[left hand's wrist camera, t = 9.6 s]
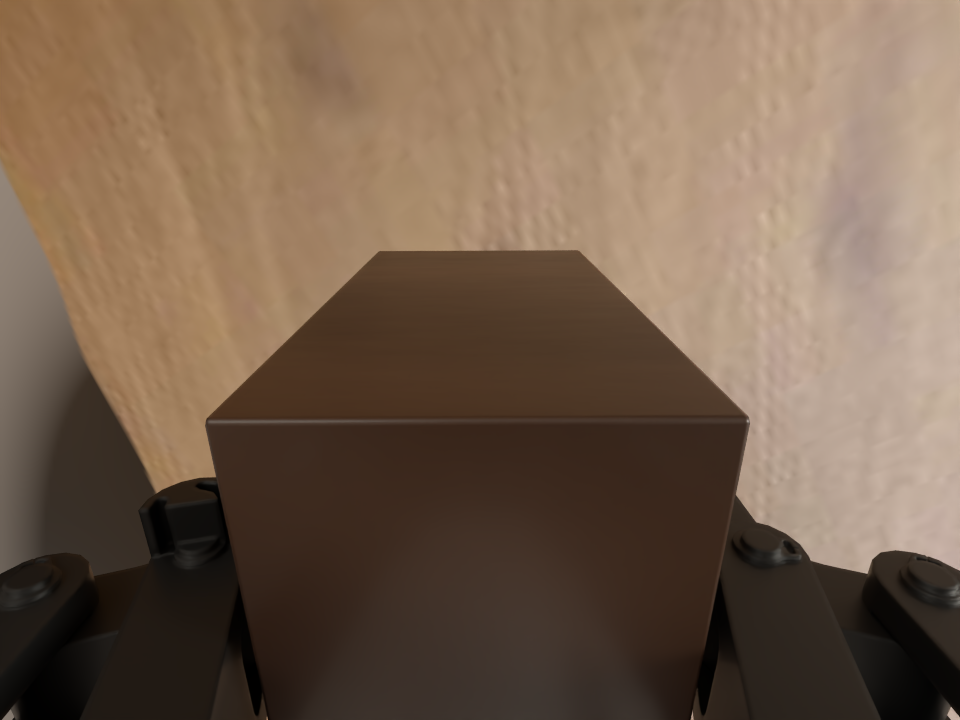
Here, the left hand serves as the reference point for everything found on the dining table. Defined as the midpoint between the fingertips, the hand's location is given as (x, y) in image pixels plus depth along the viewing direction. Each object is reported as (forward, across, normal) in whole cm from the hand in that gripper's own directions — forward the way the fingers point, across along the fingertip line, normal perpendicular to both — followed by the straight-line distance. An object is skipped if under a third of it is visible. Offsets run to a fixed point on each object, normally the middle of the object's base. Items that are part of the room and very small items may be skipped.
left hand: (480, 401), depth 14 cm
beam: (0, 0, -11) cm, 11 cm away
